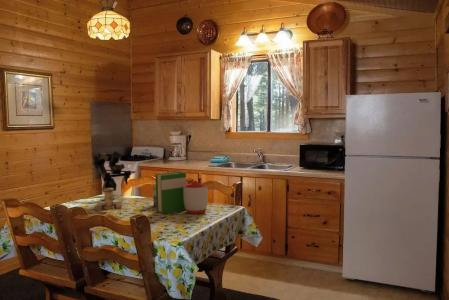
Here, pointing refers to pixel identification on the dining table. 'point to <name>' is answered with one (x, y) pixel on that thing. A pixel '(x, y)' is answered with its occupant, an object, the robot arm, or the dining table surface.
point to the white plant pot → (195, 197)
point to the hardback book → (170, 192)
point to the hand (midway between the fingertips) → (120, 185)
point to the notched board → (115, 204)
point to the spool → (108, 198)
